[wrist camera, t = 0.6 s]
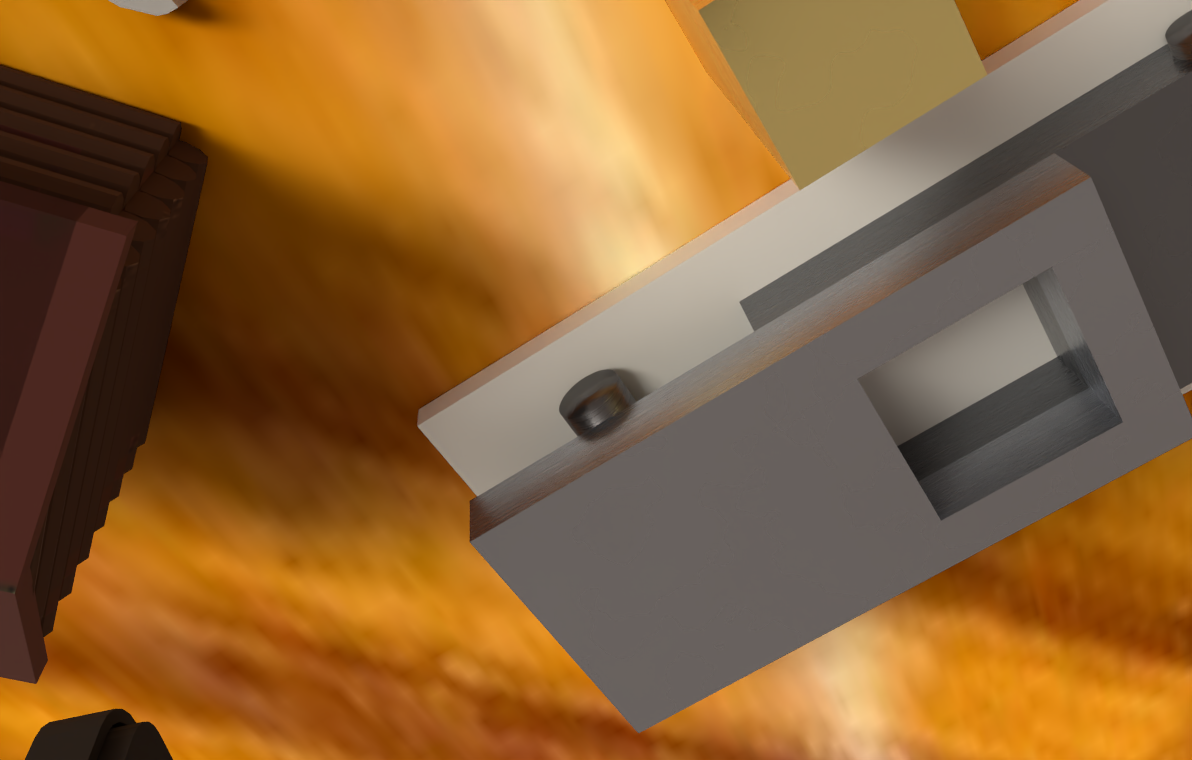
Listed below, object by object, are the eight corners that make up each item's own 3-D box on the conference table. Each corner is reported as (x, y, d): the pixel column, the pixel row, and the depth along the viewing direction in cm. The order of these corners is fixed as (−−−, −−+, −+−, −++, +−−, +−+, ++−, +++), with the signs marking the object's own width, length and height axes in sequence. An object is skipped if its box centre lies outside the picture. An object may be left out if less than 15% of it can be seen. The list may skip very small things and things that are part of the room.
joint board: (1326, -153, 29) (1353, -151, 28) (1428, 236, 35) (1453, 248, 34) (418, 409, 35) (417, 425, 34) (637, 668, 40) (640, 687, 39)
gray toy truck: (1348, -86, 29) (1467, -67, 26) (1426, 218, 34) (1538, 269, 30) (460, 452, 34) (459, 530, 31) (630, 654, 39) (646, 742, 35)
